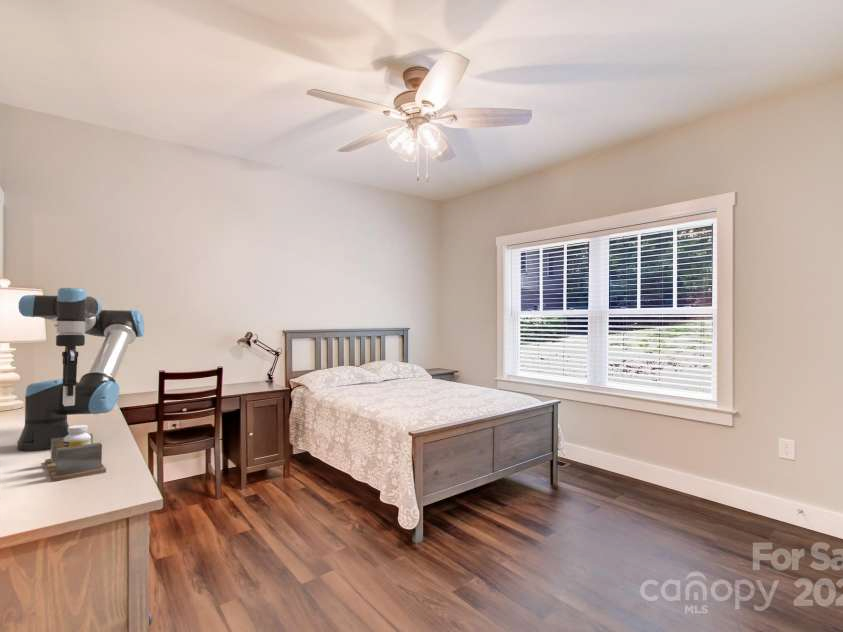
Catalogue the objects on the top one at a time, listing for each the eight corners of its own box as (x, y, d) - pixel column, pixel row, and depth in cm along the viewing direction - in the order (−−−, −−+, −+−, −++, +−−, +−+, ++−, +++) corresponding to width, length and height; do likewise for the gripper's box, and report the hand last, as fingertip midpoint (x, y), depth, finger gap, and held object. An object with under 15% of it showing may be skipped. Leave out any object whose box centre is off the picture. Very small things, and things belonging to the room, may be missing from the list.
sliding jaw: (49, 458, 139) (49, 436, 139) (88, 452, 146) (89, 431, 146) (51, 463, 134) (52, 440, 134) (92, 457, 141) (92, 435, 141)
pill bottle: (57, 467, 130) (58, 427, 130) (81, 461, 136) (82, 423, 136) (71, 470, 128) (72, 429, 128) (95, 463, 134) (96, 425, 134)
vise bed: (44, 462, 138) (45, 436, 138) (92, 455, 146) (93, 430, 147) (52, 481, 121) (53, 452, 121) (106, 472, 129) (106, 444, 129)
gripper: (53, 334, 151) (51, 403, 150) (59, 334, 139) (56, 409, 138) (81, 334, 156) (79, 400, 155) (88, 334, 144) (86, 406, 144)
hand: (68, 404), depth 147 cm, fingers open, 3 cm apart
